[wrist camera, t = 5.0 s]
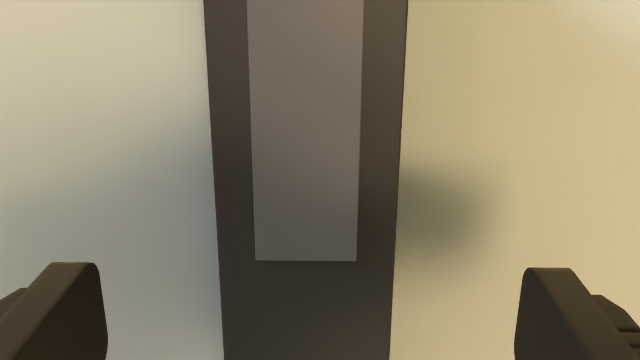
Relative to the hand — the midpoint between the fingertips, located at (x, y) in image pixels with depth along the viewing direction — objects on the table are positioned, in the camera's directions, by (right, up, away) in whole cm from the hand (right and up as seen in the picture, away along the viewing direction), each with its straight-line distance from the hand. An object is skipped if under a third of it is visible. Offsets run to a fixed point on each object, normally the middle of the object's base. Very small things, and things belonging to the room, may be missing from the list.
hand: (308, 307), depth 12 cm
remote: (0, +2, +7) cm, 7 cm away
